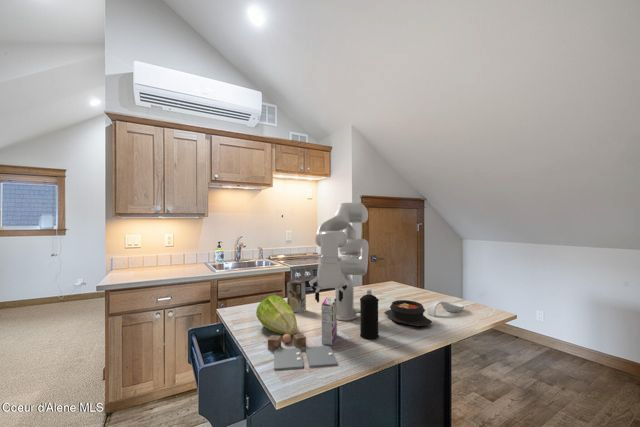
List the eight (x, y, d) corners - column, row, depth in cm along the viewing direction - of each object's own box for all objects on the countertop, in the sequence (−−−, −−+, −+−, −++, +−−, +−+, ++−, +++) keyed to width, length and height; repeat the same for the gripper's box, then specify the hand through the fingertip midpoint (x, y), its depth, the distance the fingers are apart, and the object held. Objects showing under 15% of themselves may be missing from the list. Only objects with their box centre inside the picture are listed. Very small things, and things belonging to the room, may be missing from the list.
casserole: (440, 325, 136) (440, 307, 136) (415, 333, 126) (415, 314, 126) (400, 310, 157) (400, 295, 157) (376, 316, 147) (376, 300, 147)
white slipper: (449, 306, 166) (449, 294, 166) (468, 312, 155) (468, 299, 156) (422, 313, 153) (422, 300, 154) (441, 319, 143) (441, 305, 143)
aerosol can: (374, 341, 117) (374, 293, 118) (356, 337, 122) (356, 290, 122) (381, 334, 124) (381, 289, 125) (364, 330, 129) (364, 286, 129)
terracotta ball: (290, 340, 118) (290, 332, 118) (291, 344, 114) (291, 335, 114) (282, 341, 117) (282, 332, 117) (282, 345, 114) (282, 336, 114)
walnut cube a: (302, 343, 116) (302, 333, 116) (305, 347, 112) (306, 337, 112) (293, 344, 114) (293, 335, 114) (296, 349, 111) (296, 338, 111)
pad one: (330, 347, 112) (330, 345, 112) (337, 365, 98) (337, 362, 98) (305, 348, 110) (305, 346, 110) (309, 367, 97) (309, 365, 97)
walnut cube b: (280, 346, 113) (280, 336, 113) (277, 350, 109) (277, 340, 109) (271, 345, 114) (271, 335, 114) (267, 349, 110) (267, 339, 110)
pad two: (300, 349, 110) (300, 347, 110) (303, 367, 96) (303, 365, 96) (274, 351, 109) (274, 348, 109) (274, 370, 95) (274, 367, 95)
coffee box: (306, 309, 158) (306, 281, 159) (301, 313, 152) (301, 283, 153) (291, 307, 162) (291, 279, 162) (286, 311, 156) (286, 282, 156)
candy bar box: (325, 333, 125) (325, 296, 125) (337, 334, 124) (337, 297, 124) (321, 344, 114) (321, 304, 114) (333, 345, 113) (333, 305, 113)
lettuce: (305, 342, 127) (273, 356, 118) (281, 310, 145) (252, 320, 137) (308, 316, 122) (275, 329, 113) (282, 286, 140) (252, 295, 132)
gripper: (346, 259, 125) (346, 298, 124) (308, 259, 122) (307, 299, 121) (351, 261, 117) (351, 303, 116) (310, 262, 115) (309, 304, 114)
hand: (329, 301), depth 119 cm, fingers open, 9 cm apart
